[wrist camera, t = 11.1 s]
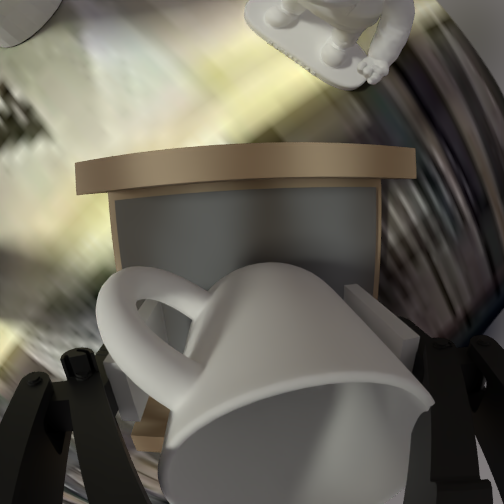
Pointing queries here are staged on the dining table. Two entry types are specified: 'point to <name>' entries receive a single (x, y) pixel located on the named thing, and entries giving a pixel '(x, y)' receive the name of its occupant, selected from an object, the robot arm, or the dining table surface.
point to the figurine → (334, 35)
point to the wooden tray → (244, 218)
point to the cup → (23, 19)
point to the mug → (266, 388)
